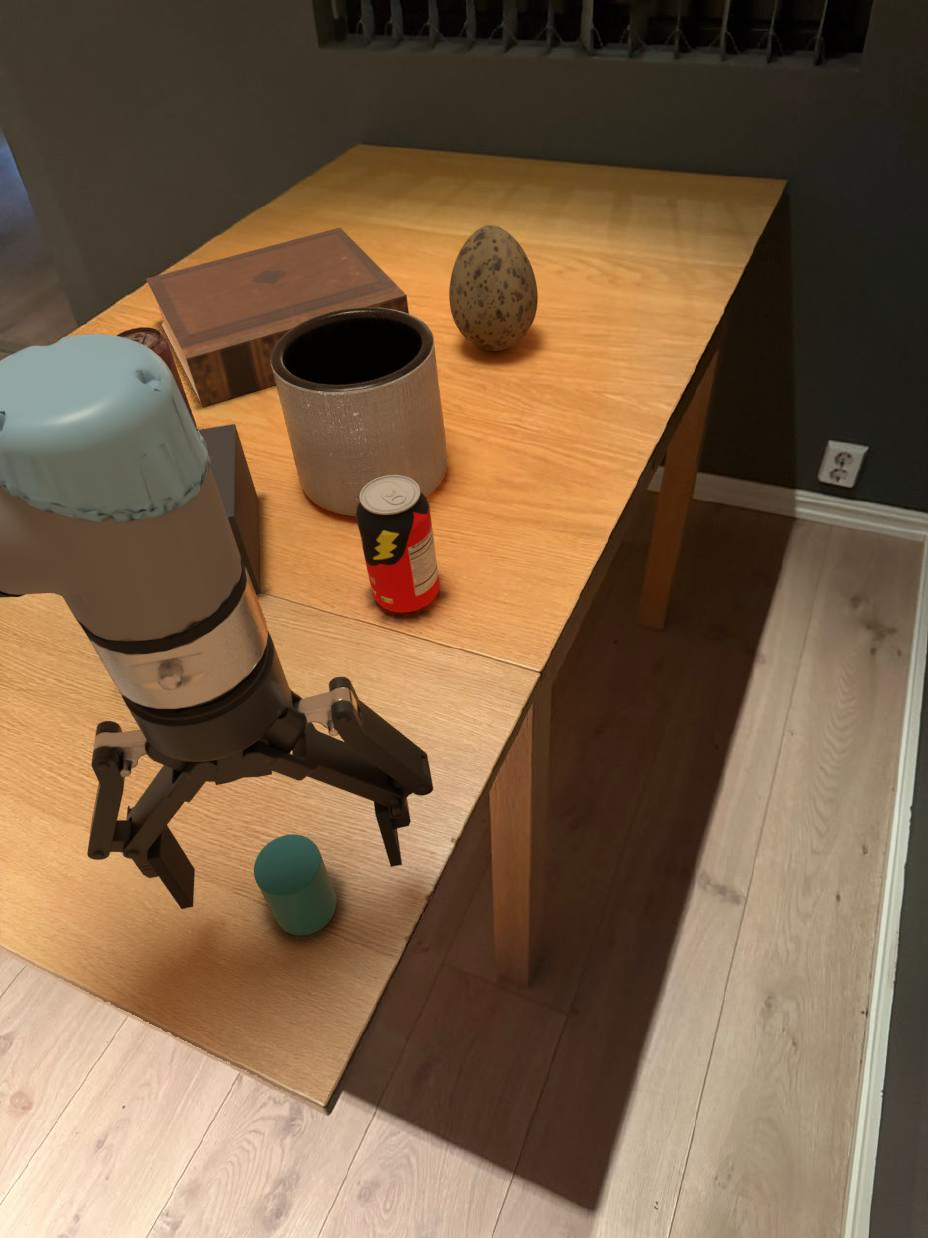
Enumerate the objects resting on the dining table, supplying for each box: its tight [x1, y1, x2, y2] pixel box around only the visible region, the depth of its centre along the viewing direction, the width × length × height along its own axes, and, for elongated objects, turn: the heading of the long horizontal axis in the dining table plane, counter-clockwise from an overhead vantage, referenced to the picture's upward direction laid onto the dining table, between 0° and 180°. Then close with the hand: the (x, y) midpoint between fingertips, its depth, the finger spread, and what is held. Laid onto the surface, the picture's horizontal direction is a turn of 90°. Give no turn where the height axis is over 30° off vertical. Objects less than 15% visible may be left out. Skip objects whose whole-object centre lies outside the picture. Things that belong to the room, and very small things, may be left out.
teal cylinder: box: [253, 834, 338, 937], centre depth 60 cm, size 4×4×6 cm
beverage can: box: [355, 475, 440, 613], centre depth 78 cm, size 6×6×12 cm
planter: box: [270, 307, 448, 517], centre depth 90 cm, size 16×16×16 cm
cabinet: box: [198, 423, 261, 594], centre depth 85 cm, size 15×13×10 cm
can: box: [115, 326, 199, 430], centre depth 97 cm, size 6×6×14 cm
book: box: [145, 227, 410, 408], centre depth 117 cm, size 24×28×6 cm
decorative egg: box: [448, 224, 539, 352], centre depth 107 cm, size 11×11×15 cm
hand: (292, 868), depth 58 cm, fingers open, 13 cm apart
